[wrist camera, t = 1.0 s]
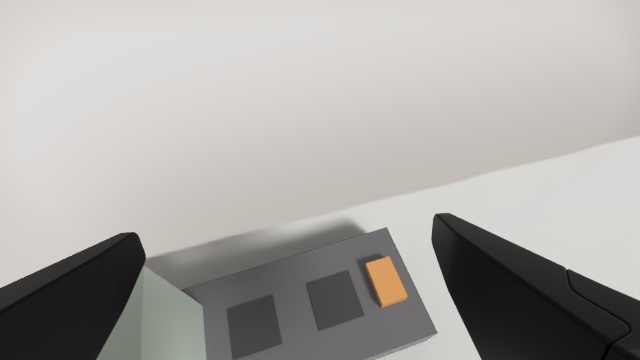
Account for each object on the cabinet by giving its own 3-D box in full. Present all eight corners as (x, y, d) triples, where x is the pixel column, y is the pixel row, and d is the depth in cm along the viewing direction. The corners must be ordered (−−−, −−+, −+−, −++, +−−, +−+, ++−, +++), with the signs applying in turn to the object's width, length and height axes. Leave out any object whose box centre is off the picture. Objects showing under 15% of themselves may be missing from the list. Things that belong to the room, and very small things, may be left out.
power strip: (381, 244, 24) (387, 222, 21) (425, 341, 20) (441, 330, 17) (112, 328, 21) (75, 317, 18) (100, 459, 17) (50, 472, 14)
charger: (222, 385, 18) (140, 376, 11) (150, 410, 18) (9, 419, 10) (215, 314, 21) (144, 265, 13) (152, 335, 20) (38, 296, 13)
